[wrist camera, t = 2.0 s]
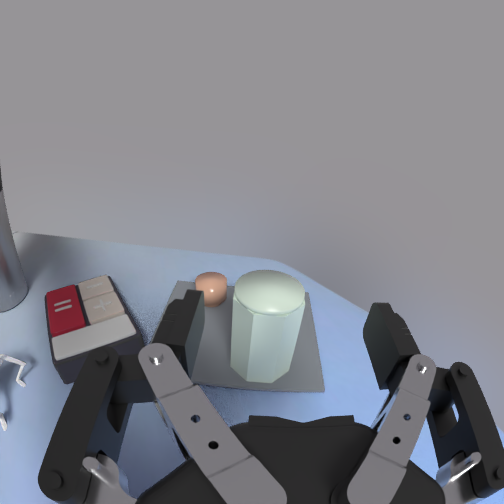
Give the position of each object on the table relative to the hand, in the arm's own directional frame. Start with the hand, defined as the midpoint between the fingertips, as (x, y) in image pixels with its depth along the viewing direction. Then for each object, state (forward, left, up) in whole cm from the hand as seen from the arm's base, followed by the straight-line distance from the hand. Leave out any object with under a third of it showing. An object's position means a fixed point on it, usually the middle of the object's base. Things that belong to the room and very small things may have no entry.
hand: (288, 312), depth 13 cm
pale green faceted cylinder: (0, +11, -17) cm, 20 cm away
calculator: (-22, +12, -18) cm, 31 cm away
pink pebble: (-7, +21, -17) cm, 28 cm away
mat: (-3, +16, -17) cm, 24 cm away
